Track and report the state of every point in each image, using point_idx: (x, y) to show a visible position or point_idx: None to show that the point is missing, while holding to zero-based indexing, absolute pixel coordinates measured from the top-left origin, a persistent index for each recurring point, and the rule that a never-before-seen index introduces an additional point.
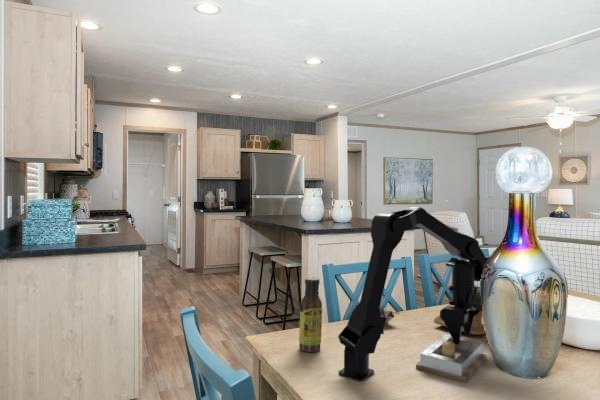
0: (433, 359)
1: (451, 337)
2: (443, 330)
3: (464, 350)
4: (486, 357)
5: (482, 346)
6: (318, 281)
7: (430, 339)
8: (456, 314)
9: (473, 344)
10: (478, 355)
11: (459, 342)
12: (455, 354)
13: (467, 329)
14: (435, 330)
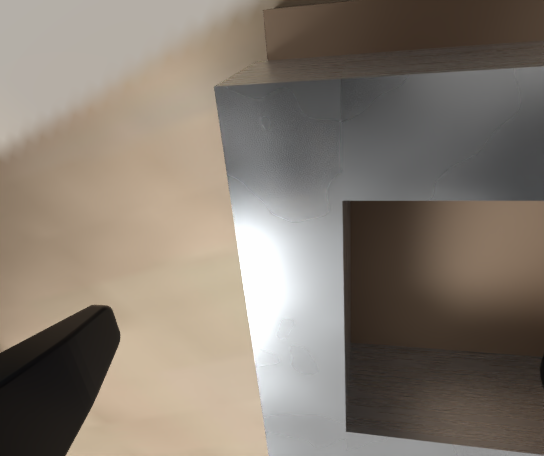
0: None
1: (331, 424)
2: None
3: (349, 237)
4: (276, 8)
5: (257, 75)
6: None
7: (212, 452)
8: None
9: (415, 175)
10: (472, 50)
11: (347, 329)
12: (486, 277)
13: (74, 371)
14: None
